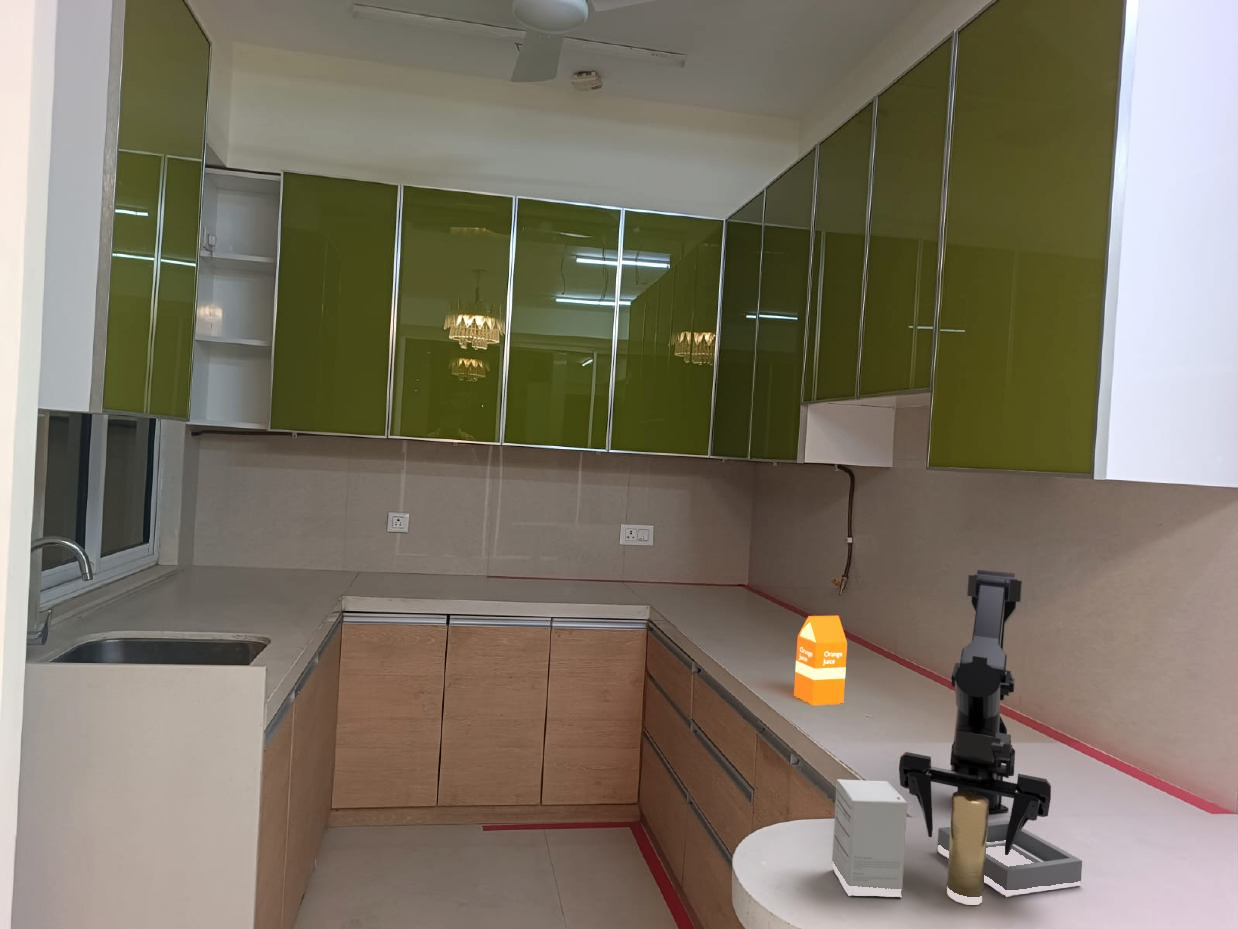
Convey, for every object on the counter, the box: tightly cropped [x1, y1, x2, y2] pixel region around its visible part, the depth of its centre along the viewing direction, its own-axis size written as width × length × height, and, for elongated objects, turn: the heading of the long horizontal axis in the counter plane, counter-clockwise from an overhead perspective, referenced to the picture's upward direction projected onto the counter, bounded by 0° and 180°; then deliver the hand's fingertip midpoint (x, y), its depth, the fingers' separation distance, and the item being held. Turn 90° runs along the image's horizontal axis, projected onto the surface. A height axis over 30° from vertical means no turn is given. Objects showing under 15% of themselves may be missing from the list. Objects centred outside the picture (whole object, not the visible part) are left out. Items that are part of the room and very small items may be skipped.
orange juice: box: [793, 615, 848, 706], centre depth 201 cm, size 8×9×20 cm
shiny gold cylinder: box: [946, 791, 989, 897], centre depth 110 cm, size 4×4×13 cm
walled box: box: [937, 819, 1083, 890], centre depth 119 cm, size 13×13×4 cm
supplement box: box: [831, 778, 908, 890], centre depth 112 cm, size 7×7×13 cm
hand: (967, 844), depth 110 cm, fingers open, 9 cm apart
